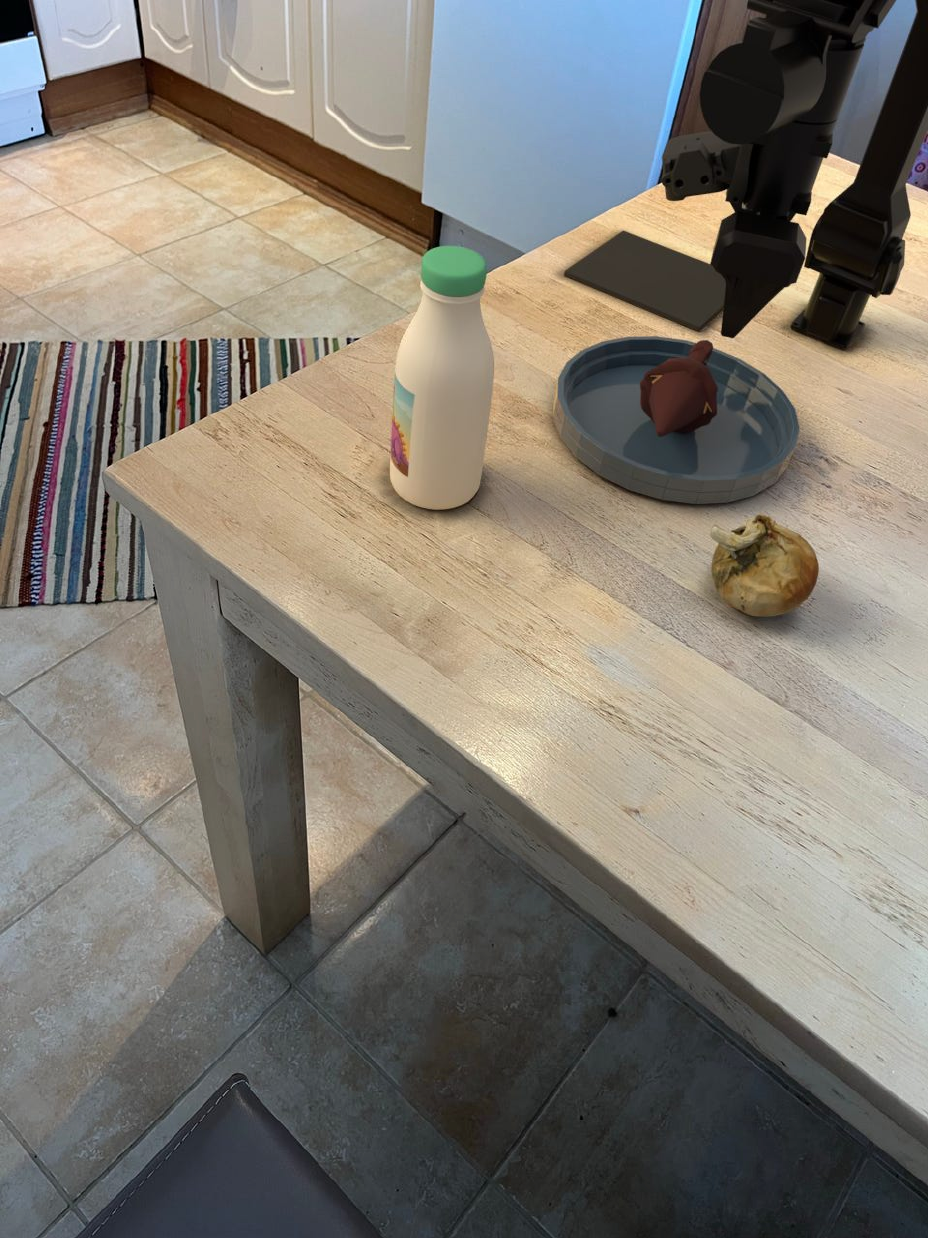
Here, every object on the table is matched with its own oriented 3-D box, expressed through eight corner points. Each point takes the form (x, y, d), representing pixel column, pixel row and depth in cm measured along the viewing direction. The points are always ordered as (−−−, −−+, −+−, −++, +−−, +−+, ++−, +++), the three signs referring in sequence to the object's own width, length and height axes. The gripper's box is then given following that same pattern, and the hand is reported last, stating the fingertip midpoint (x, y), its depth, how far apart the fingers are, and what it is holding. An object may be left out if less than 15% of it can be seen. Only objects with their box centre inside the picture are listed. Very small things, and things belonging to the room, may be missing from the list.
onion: (757, 651, 71) (795, 575, 65) (679, 587, 75) (707, 510, 69) (818, 609, 74) (858, 534, 68) (740, 550, 78) (772, 474, 72)
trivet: (622, 234, 115) (623, 229, 115) (749, 284, 110) (751, 279, 109) (563, 275, 107) (564, 270, 107) (698, 332, 101) (700, 326, 101)
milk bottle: (491, 469, 82) (523, 248, 68) (462, 523, 77) (490, 297, 63) (408, 444, 84) (422, 223, 69) (375, 496, 79) (382, 269, 64)
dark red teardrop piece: (720, 424, 78) (748, 352, 89) (642, 379, 78) (681, 312, 89) (677, 484, 83) (709, 409, 94) (604, 441, 83) (645, 371, 94)
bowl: (622, 337, 99) (628, 311, 97) (821, 424, 92) (833, 397, 90) (507, 434, 86) (511, 406, 84) (728, 543, 79) (739, 516, 76)
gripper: (699, 48, 74) (652, 240, 86) (669, 132, 62) (619, 343, 74) (841, 75, 73) (774, 266, 85) (840, 166, 61) (762, 376, 72)
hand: (731, 308), depth 79 cm, fingers open, 9 cm apart
